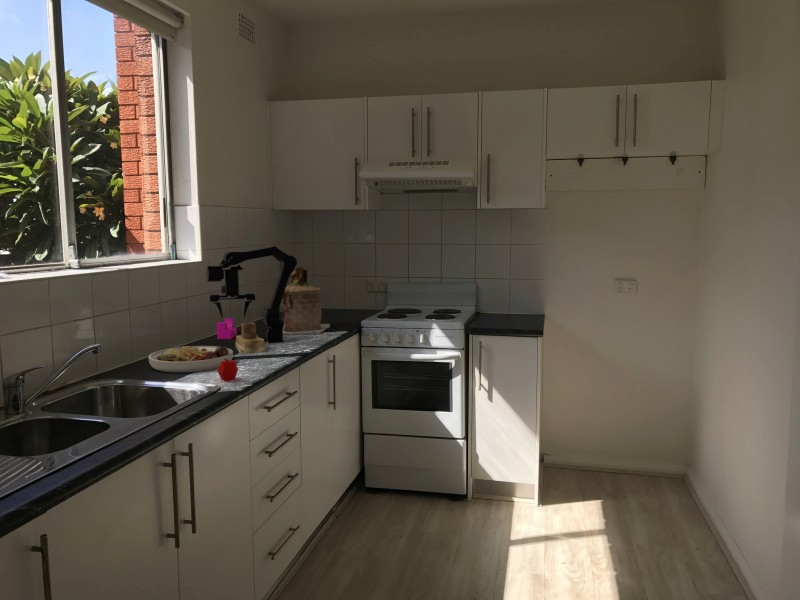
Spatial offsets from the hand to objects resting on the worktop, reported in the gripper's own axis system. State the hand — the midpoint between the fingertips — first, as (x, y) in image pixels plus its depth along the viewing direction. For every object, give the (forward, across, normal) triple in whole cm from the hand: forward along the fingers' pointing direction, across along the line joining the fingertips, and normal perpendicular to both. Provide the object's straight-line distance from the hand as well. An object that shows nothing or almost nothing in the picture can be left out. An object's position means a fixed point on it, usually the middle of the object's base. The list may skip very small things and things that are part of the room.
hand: (233, 317), depth 289 cm
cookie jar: (+13, -33, -30) cm, 47 cm away
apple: (+13, +5, +66) cm, 67 cm away
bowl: (+13, +17, +36) cm, 42 cm away
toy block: (+13, +1, -26) cm, 29 cm away
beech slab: (+13, -6, +12) cm, 19 cm away
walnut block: (+7, -6, +12) cm, 15 cm away
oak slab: (+10, -6, +12) cm, 17 cm away
